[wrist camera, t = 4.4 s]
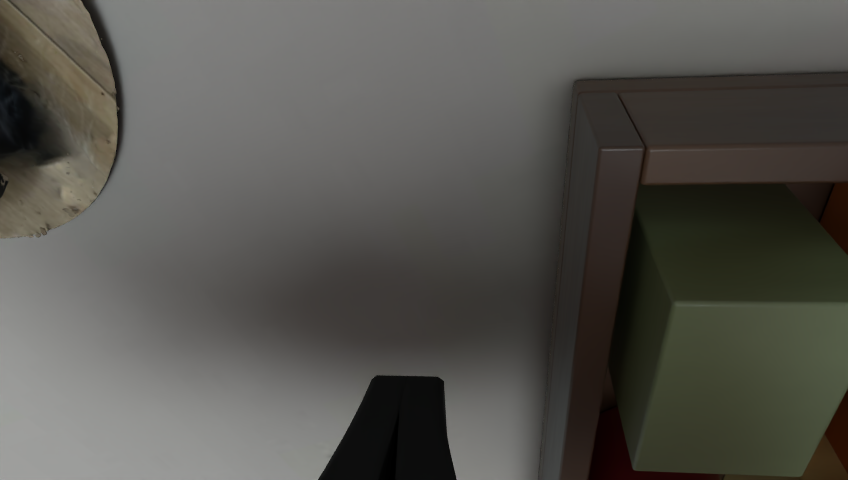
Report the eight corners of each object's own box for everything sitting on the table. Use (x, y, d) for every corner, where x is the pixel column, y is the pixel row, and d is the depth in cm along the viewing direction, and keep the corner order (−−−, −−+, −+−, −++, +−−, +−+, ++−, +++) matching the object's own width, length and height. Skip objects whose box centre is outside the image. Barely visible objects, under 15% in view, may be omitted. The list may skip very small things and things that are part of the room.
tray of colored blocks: (1109, 63, 9) (1580, 231, 5) (837, 506, 16) (951, 719, 12) (573, 79, 10) (631, 234, 6) (537, 493, 16) (552, 688, 13)
